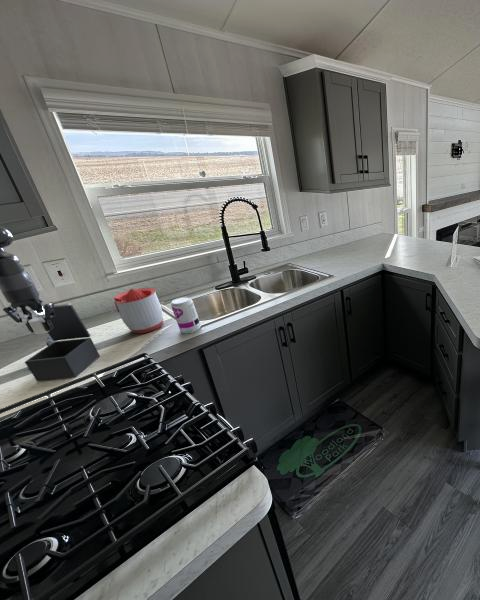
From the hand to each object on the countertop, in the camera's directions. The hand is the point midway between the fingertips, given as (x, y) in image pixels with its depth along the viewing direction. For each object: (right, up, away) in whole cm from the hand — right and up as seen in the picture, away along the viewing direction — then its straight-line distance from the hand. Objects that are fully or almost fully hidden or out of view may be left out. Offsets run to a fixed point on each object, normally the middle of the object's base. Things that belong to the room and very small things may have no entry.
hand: (42, 330), depth 115 cm
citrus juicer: (+7, -3, +37) cm, 38 cm away
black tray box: (-1, -16, +11) cm, 19 cm away
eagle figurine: (-13, -10, +17) cm, 24 cm away
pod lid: (-2, +2, +9) cm, 9 cm away
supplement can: (+30, -3, +35) cm, 46 cm away
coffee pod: (0, 0, 0) cm, 0 cm away
